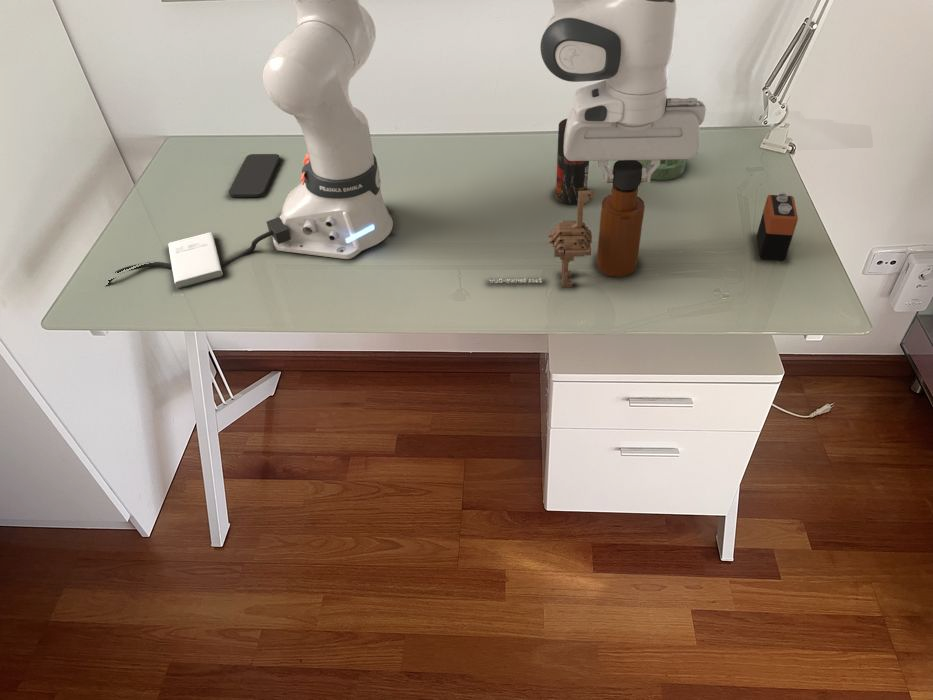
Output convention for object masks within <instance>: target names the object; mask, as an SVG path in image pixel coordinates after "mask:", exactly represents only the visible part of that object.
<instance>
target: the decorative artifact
mask: <svg viewBox="0 0 933 700" xmlns="http://www.w3.org/2000/svg"><path fill="white" fill-rule="evenodd" d="M637 161H638V162H640V163H641V164H642V168H646V167H647V165H648V164H649V163H650V160H637ZM686 161H687V159H668V160H660V165H659V166H658V167H657V169H656V170H655V171H654V172H653V173H652V174H651V179H650V180H656V181H668V180H673V179H675V178H678V177H679V176H681V175H682V174H683V173H684V171H685V167H686V163H687V162H686Z"/></svg>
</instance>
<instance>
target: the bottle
mask: <svg viewBox="0 0 933 700" xmlns="http://www.w3.org/2000/svg"><path fill="white" fill-rule="evenodd" d="M611 184H612V183H611ZM638 193H639V186H638V187H637V188H636V189H633V190H632V191H630V192H622V191H619V189H618V188H616V187H615V186H614V185H613V184H612V185H611V194H608V195H606V197H604V198H603V199H602V201H601V209H600V219H599V231H598V241H597V253H596V267H597V268H598V270H599V271H600V272H601V273H603V274H605V275H607V276H610V277H615V278H616V277H625V276H628V275H631V274H632V273H634V271H635V270H636V269H637V265H638V257H639V251H640V243H641V236H642V230H643V222H644V217H645V216H644V215H645V207H646V206H645V201H644V200H643V199H642V198H641V197H640V196H638Z"/></svg>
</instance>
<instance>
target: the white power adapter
mask: <svg viewBox="0 0 933 700" xmlns="http://www.w3.org/2000/svg"><path fill="white" fill-rule="evenodd" d="M167 245H168V252H169V259H170V264H171V265H172V269H171V270H172V276H173V281H174V285H175V287H176V289H181V288H185V287H189V286H192V285H196V284H200V283H204V282H208V281H212V280H215V279H217V278H221V277H223V276H224V274H223V270H222V267H221V266H220V263H221V262H220V259H219V254H218V250H217V246H216V242H215V238H214V235H213V232H211V231H210V232H205V233H202V234H198V235H193V236H191V237H186V238H183V239H178V240H175V241H170V242H168V244H167Z"/></svg>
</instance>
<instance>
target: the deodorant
mask: <svg viewBox="0 0 933 700" xmlns="http://www.w3.org/2000/svg"><path fill="white" fill-rule="evenodd" d="M567 119H568V117H567V118H564V119H562V120H561V121H559V123H558V129H557V130H558V131H557V132H558V134H557V157H556V179H555V180H556V184H555V198H556V200H557V201H558V202H560V203H561V204H564V205H569V206H570V205H578V191H586V190H588V183H589V181H588V180H589V167H590V161H569V160H567V158H566V157H565V156H564V149H563V145H564V134H565V128H566V123H567Z"/></svg>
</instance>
